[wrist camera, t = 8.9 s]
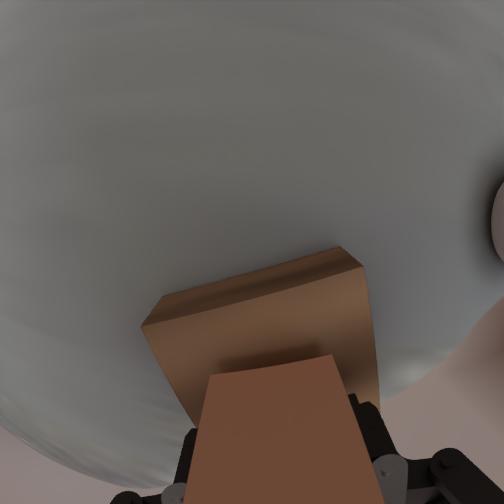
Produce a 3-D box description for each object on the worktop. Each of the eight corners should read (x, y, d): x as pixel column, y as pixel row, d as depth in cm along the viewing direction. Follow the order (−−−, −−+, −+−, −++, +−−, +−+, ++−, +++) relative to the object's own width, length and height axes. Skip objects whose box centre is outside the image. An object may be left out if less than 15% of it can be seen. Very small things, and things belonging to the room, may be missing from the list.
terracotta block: (210, 375, 11) (177, 526, 5) (331, 354, 11) (384, 503, 4) (238, 446, 13) (229, 565, 6) (337, 430, 12) (366, 548, 6)
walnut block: (164, 293, 16) (140, 326, 12) (338, 244, 16) (363, 265, 12) (222, 417, 19) (217, 459, 15) (362, 383, 18) (380, 422, 14)
